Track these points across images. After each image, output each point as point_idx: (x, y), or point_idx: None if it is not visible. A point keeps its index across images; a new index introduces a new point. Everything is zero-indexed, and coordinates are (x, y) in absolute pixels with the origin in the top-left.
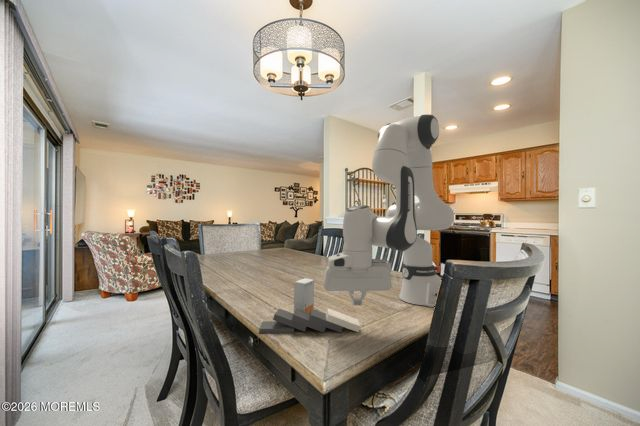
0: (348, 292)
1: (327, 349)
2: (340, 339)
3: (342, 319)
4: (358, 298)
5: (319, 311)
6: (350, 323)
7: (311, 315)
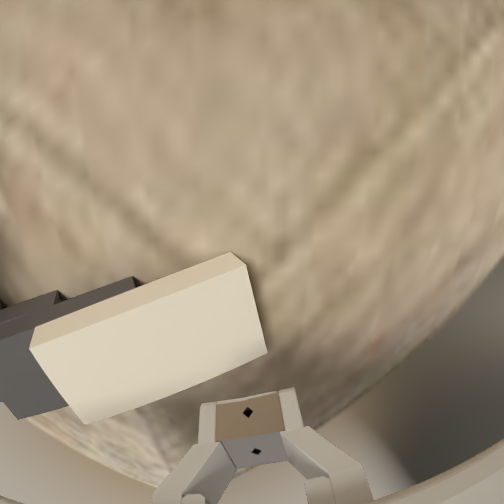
0: (158, 500)
1: (152, 440)
2: (176, 395)
3: (158, 393)
4: (271, 440)
5: (5, 340)
6: (208, 376)
7: (20, 418)
